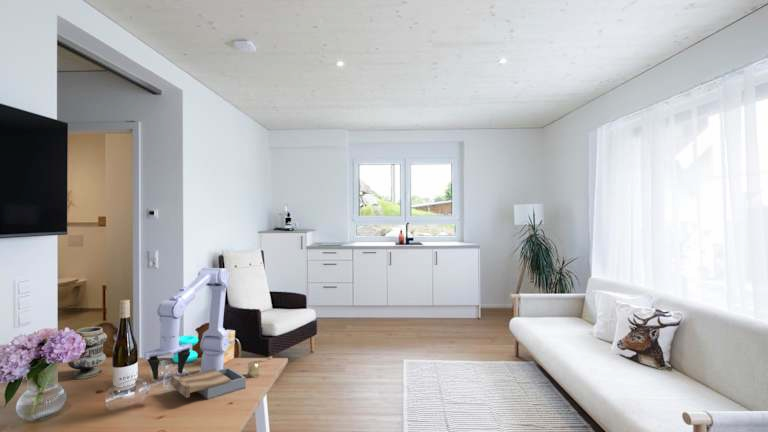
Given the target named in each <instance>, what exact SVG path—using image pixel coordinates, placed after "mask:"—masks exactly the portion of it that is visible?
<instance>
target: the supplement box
mask: <svg viewBox="0 0 768 432" xmlns="http://www.w3.org/2000/svg"><path fill="white" fill-rule="evenodd" d="M224 330H225V331H227V332H228V339H229V346H228V349H227V350H226V351H225V352H224V362H223V365H225V364H226V363H228V362H230V361H232V360H234V358H235V337H236V330H234V329H224Z"/></svg>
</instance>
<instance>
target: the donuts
mask: <svg viewBox="0 0 768 432" xmlns="http://www.w3.org/2000/svg"><path fill="white" fill-rule="evenodd" d="M198 342H199V338H198V337H197V336H196V335H192V334H191V335H182V336H179V345H184V344H192V347H194V346H196V344H198ZM189 352H190V356H189V357H188V359H187V360H186V363H191V362H193V361H196V359H198V355H199V354H198V352H197V351H195V350H193V349H192V350H191V351H189ZM172 360H173V362H174V363H176V364H178V353H174V355H173V356H172ZM186 363H185V364H186Z"/></svg>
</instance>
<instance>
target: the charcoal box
mask: <svg viewBox="0 0 768 432" xmlns="http://www.w3.org/2000/svg"><path fill="white" fill-rule="evenodd" d="M217 371H218V372H220V373H222V374H223V375H225V376H226V377H228V378H229V379H231V381H230V382H227V383H223V384H220V385H216V386H213V387H209V388H206V389H202V390H199V391H196V392H197V393H198V394H199V395H201V396H202V397H204V399H207V400H212V399H215V398H217V397H221V396H225V395H228V394H230V393H233V392H236V391H241V390H244V389H246V381H247V379H246V376H245V375H242V374H241V373H239V372H238V371H236V370H234V369H232V368H231V367H226V368H223V369H221V370H217Z"/></svg>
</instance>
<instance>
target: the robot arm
mask: <svg viewBox="0 0 768 432" xmlns="http://www.w3.org/2000/svg"><path fill="white" fill-rule="evenodd" d="M229 277H230V273H229V270H227V268H225V267H224V268H223V267H221V268H219V267H205V266H204V267H202V268H201V269H200V270H199V271H198V273H197V277H195V279H194V280H193V281H192V282H191V283H190V284H189V285H188V286H182V287H180V288H179V290H178V291H177V292H176V293H175V294H174V295H172V296H171V297H170V298H169V299H165V300H163V301H162V302H161V303H159V305H158V307H157V309H156V312H157V315H158V318H159V322H160V332H159V333H160V334H159V335H160V336H159V348H156V349H152V350H149V351H146V352H144V354H143V355H144V356H143V357H144V360H145V361H147V362H148V364H149V367H150V369H151V372H152V378H153V380H158V379H159V365H160V360H159V358H158V357H164V356H167V355H168V356H169V355H172V354H176V353H178V363H177V373H178V374H183V370H184V368H185V364H186V360H187V359H188V357H189V356H190V352H189V351H191V350H193V346H192V344H184V345H179V337H180V329H181V328H180V327H181V317H182V316H183V315H184V314H185V310H186V308H187V306H189V304H191V302H192V301H193V300H195V298H196V293H198V292H199V291H200V290H202V288H204V287H205V286H207V287H209V288H210V289H211V291H212V292H211V300H210V311H209V321H208V322H209V323H208V328H207V329H206V330H205V331H204V332H203V333H202V337H201V340H200V343H199V348H200V350H201V351H202V355H201V357H200V358H201V361H200V370H199V371H198V372H197V373H200V372H204V371H208V370H212V369H215V370H221V369H224V364H223V362H224V352H225V351H226V350H227V349H228V346H229V339H228V332H227V331H225V330H226V329H225V328H224V327H223V325H224V316H225V315H224V314H225V306H226V305H225V304H226V292H227V288H228V287H229Z"/></svg>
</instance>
